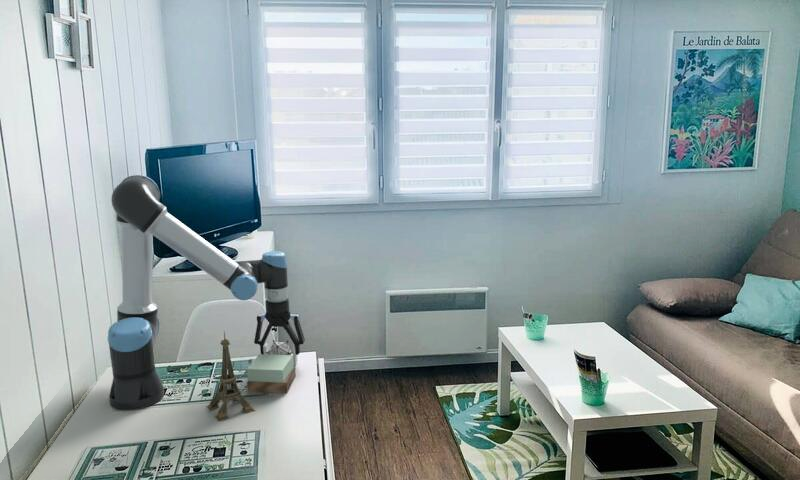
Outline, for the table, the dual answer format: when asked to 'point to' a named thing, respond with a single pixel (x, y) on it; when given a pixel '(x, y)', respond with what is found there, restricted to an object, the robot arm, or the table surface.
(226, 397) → the eiffel tower
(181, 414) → the table surface
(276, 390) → the base block
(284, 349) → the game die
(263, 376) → the top block
